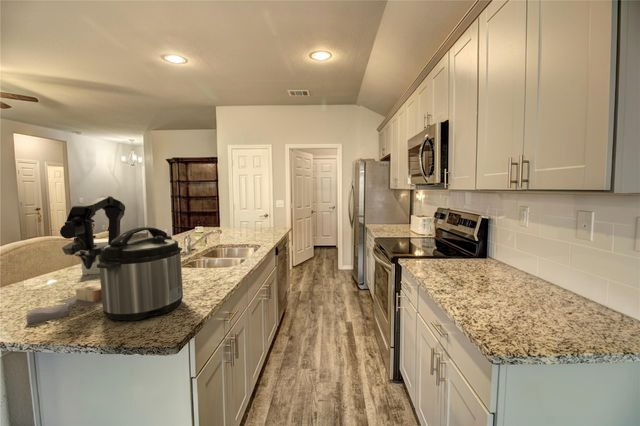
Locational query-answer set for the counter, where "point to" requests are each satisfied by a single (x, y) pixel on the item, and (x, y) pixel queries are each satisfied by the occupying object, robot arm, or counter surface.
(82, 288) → the birch block
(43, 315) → the stone block
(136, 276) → the pressure cooker
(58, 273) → the counter surface
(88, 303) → the rubber mat
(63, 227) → the robot arm
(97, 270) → the supplement box
